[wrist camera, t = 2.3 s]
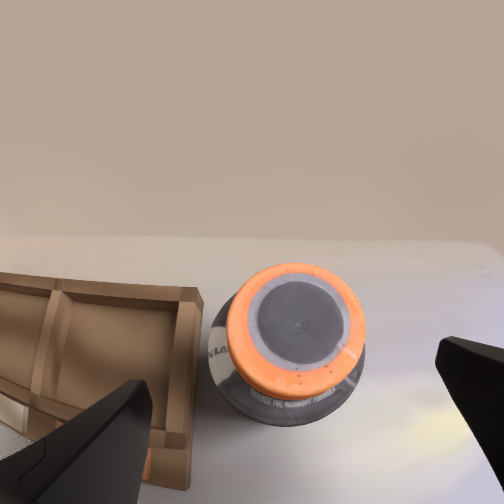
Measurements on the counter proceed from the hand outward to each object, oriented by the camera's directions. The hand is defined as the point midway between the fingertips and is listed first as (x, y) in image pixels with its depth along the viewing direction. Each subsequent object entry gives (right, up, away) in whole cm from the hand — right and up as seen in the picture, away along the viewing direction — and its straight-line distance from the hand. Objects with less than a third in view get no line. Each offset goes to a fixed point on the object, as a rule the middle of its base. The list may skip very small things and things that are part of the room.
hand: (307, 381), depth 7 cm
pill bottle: (0, -4, +10) cm, 11 cm away
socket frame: (-16, -5, +10) cm, 20 cm away
